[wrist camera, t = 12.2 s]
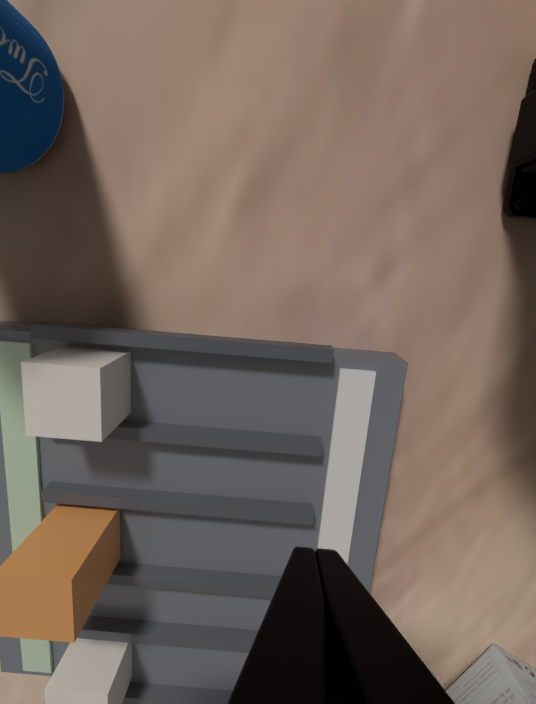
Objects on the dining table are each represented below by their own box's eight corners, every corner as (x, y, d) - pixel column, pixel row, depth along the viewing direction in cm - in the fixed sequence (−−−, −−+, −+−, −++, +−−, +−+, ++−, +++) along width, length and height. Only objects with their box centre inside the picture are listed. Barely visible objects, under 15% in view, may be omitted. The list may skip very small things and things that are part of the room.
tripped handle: (119, 506, 19) (71, 580, 14) (120, 557, 19) (74, 642, 15) (60, 501, 19) (-7, 573, 14) (63, 552, 19) (0, 636, 15)
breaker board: (395, 343, 19) (438, 370, 14) (343, 672, 23) (361, 779, 18) (-3, 310, 19) (-102, 325, 14) (25, 644, 23) (-42, 743, 19)
